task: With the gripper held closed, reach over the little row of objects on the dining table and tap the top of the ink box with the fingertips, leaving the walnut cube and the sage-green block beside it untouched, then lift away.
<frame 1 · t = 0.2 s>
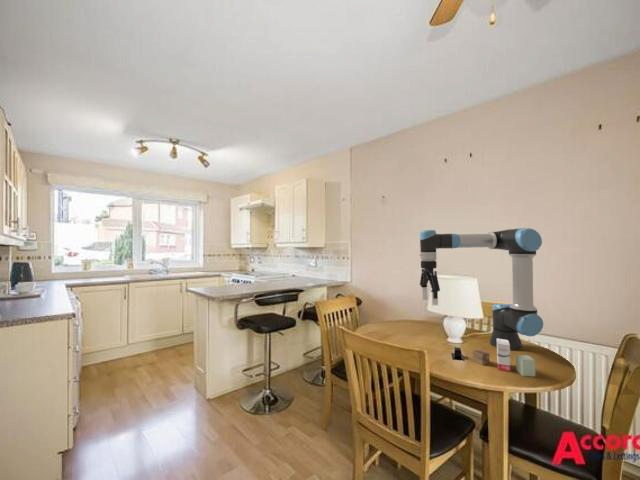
hand: (429, 302, 145), 28 cm above the table, fingers open, 13 cm apart
black bracket plate: (457, 358, 145), on the table
walnut cube: (481, 362, 138), on the table
sage block: (525, 373, 125), on the table
ink box: (503, 367, 132), on the table
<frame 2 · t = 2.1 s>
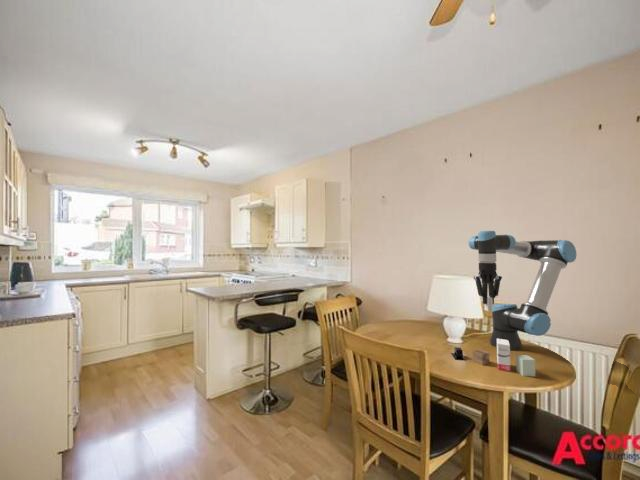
hand: (488, 310, 139), 24 cm above the table, fingers closed
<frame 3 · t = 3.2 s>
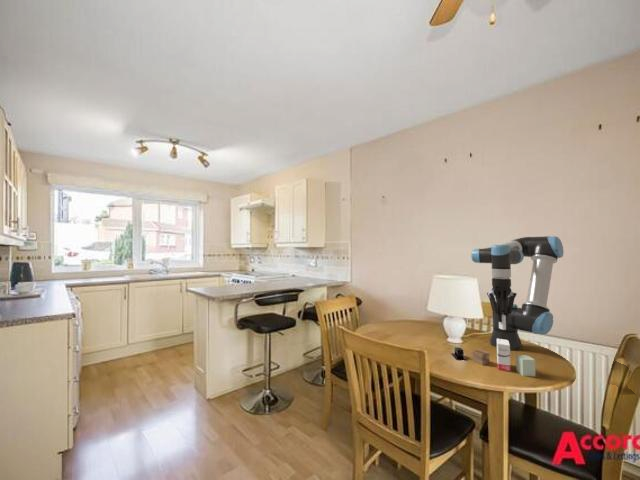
hand: (502, 328, 132), 18 cm above the table, fingers closed
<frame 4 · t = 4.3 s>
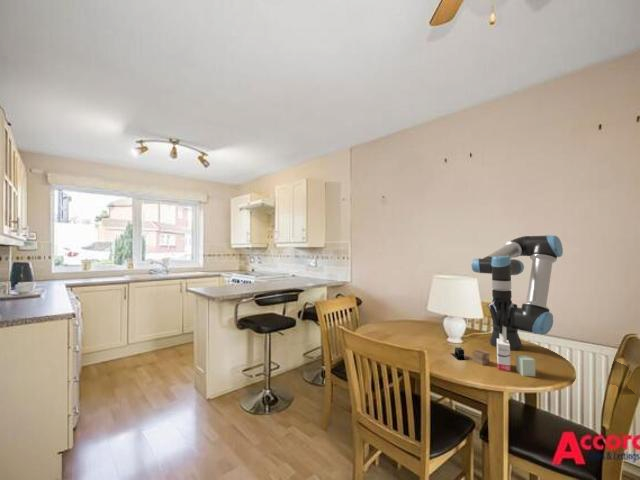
hand: (503, 340, 132), 12 cm above the table, fingers closed
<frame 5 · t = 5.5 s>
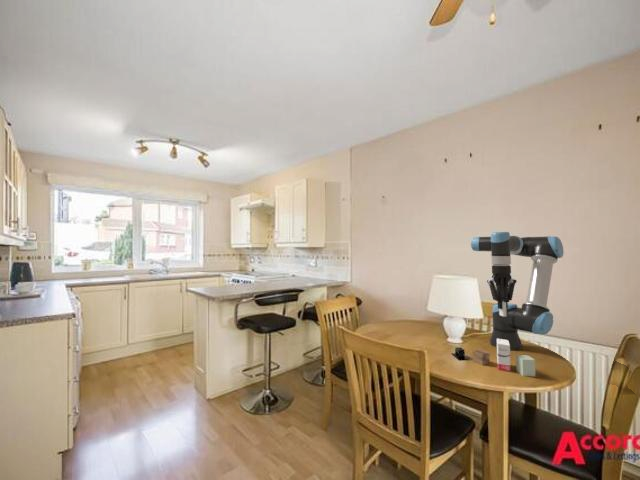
hand: (502, 315, 133), 24 cm above the table, fingers closed
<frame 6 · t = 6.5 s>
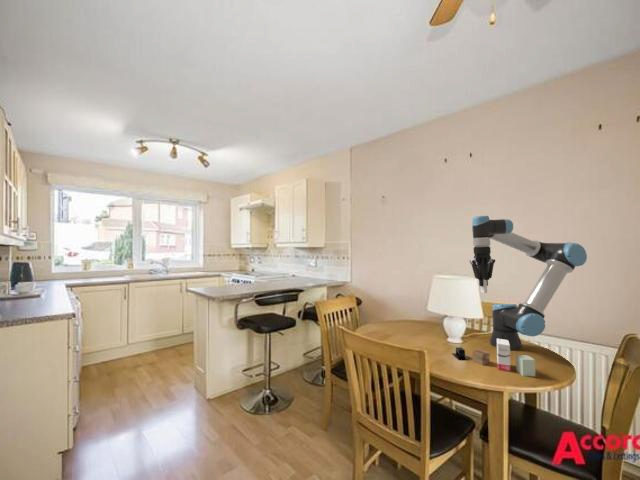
hand: (483, 292, 145), 32 cm above the table, fingers closed
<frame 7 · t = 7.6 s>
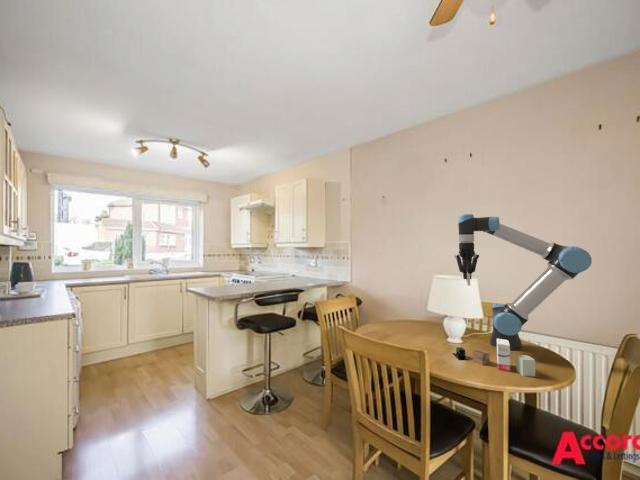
hand: (467, 285, 158), 34 cm above the table, fingers closed
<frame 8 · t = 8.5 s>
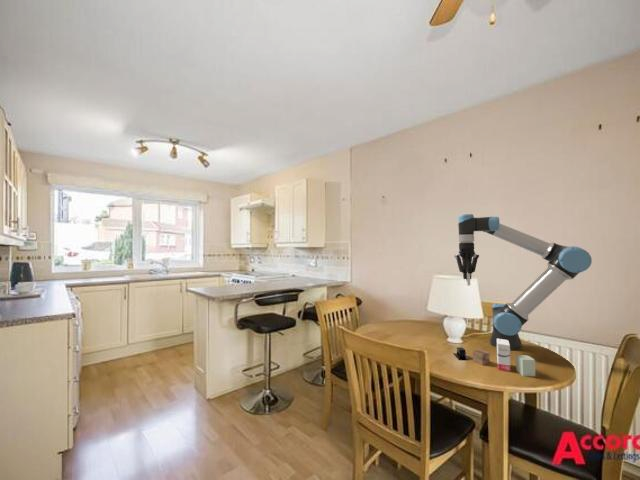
hand: (467, 285, 158), 34 cm above the table, fingers closed
at the end: ink box moved 0.3 cm from its start; walnut cube moved 0.1 cm from its start; sage block moved 0.1 cm from its start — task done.
